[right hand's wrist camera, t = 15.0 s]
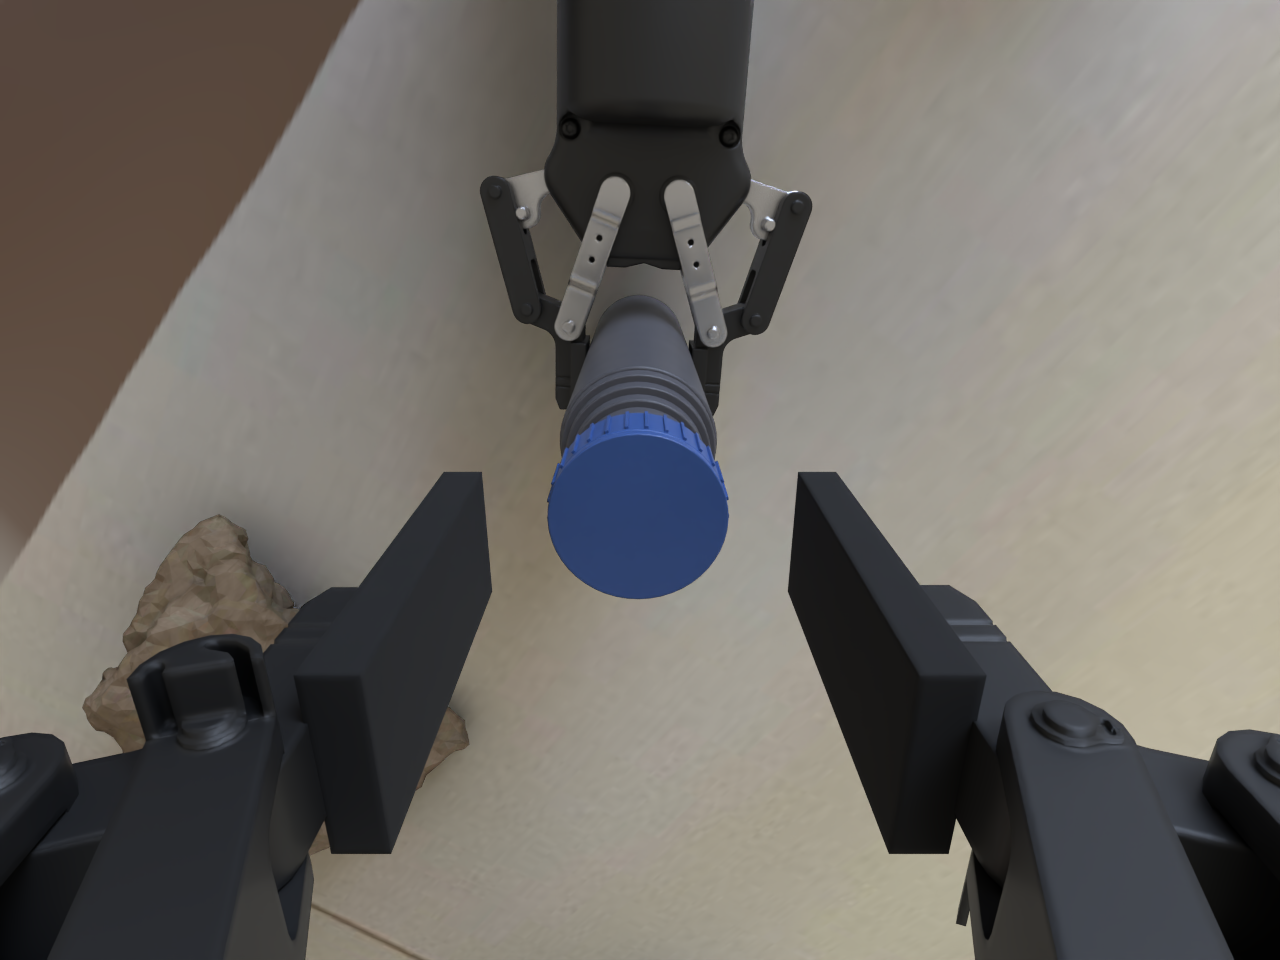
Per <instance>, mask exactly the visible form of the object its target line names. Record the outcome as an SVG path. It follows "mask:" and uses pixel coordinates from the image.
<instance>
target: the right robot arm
mask: <svg viewBox="0 0 1280 960" xmlns="http://www.w3.org/2000/svg"><path fill="white" fill-rule="evenodd" d="M491 593H492V584H491V573H490V561H489V550H488V538H487V527H486V515H485V504H484V492H483V481H482V472H444V473H443V474H442V475H441V477H440V478H439V479H438V481H437V482H436V483H435V485H434V486H433V487H432V489H431V490H430V491H429V493H428V494H427V496H426V497H425V498H424V500H423V501H422V502H421V504H420V505H419V506H418V508H417V509H416V510H415V512H414V513H413V514H412V516H411V517H410V518H409V520H408V521H407V523H406V524H405V525H404V527H403V528H402V529H401V531H400V532H399V533H398V535H397V536H396V537H395V539H394V540H393V541H392V543H391V544H390V545H389V547H388V548H387V550H386V551H385V552H384V554H383V555H382V556H381V558H380V559H379V560H378V562H377V563H376V564H375V566H374V567H373V568H372V570H371V571H370V572H369V574H368V575H367V577H366V578H365V579H364V581H363V582H362V583H361V585H360V586H359V587H331V588H330V589H328V590H326V591H325V592H323V593H322V594H320V595H318V596H317V597H315V598H314V599H312V600H310V601H309V602H307V603H306V604H304V605H303V606H302V608H301V609H300V610H299V611H298V612H297V614H296V615H295V616H294V617H293V618H292V619H291V621H290V622H289V623H288V628H284V629H283V630H282V631H281V632H280V634H279V635H278V636H277V637H276V638H275V640H274V644H270V645H269V647H268V648H267V649H266V650H265V651H264V653H263V651H262V646H261V644H259V643H258V642H257V641H255V640H254V639H253V638H251V637H248V636H242V635H237V634H222V635H209V636H205V637H201V638H197V639H192V640H188V641H184V642H182V643H179V644H177V645H175V646H172V647H170V648H167V649H165V650H163V651H160V652H158V653H157V654H155V655H154V656H152V657H151V658H149V659H148V660H146V661H145V662H143V663H141V664H140V665H139V666H138V667H137V668H136V669H135V670H134V671H133V673H132V674H131V675H130V676H129V677H128V678H127V679H126V680H127V683H128V686H129V689H130V692H131V696H132V699H133V702H134V705H135V708H136V711H137V714H138V718H139V721H140V724H141V727H142V730H143V733H144V737H145V740H146V742H145V744H144V746H143V748H142V749H139V750H135V751H131V752H127V753H122V754H117V755H112V756H108V757H103V758H98V759H93V760H89V761H84V762H79V763H74V764H72V763H71V760H70V757H69V755H68V752H67V749H66V747H65V744H64V742H63V741H61V740H60V739H58V738H57V737H55V736H54V735H52V734H42V733H27V734H20V735H14V736H8V737H3V738H0V960H305V956H306V947H307V938H308V929H309V919H310V910H311V901H312V892H313V883H314V877H313V871H312V865H311V860H310V856H309V852H308V851H309V849H310V847H311V845H312V844H313V842H314V840H315V838H316V836H317V834H318V832H319V830H320V828H321V826H322V824H323V822H324V821H325V826H326V831H327V835H328V840H329V845H330V850H331V854H391V852H392V850H393V847H394V845H395V842H396V839H397V837H398V834H399V832H400V829H401V827H402V824H403V821H404V819H405V816H406V814H407V811H408V808H409V806H410V803H411V801H412V798H413V795H414V793H415V790H416V788H417V785H418V782H419V780H420V777H421V775H422V772H423V769H424V767H425V764H426V762H427V759H428V756H429V754H430V751H431V749H432V746H433V743H434V741H435V738H436V736H437V733H438V730H439V728H440V725H441V723H442V720H443V717H444V715H445V712H446V710H447V707H448V705H449V702H450V699H451V697H452V694H453V692H454V689H455V686H456V684H457V681H458V679H459V676H460V673H461V671H462V668H463V666H464V663H465V660H466V658H467V655H468V653H469V650H470V647H471V645H472V642H473V640H474V637H475V634H476V632H477V629H478V627H479V624H480V621H481V619H482V616H483V614H484V611H485V608H486V606H487V603H488V601H489V598H490V595H491ZM788 593H789V595H790V598H791V601H792V603H793V606H794V608H795V611H796V614H797V616H798V619H799V621H800V624H801V627H802V629H803V632H804V634H805V637H806V640H807V642H808V645H809V647H810V650H811V653H812V655H813V658H814V660H815V663H816V666H817V668H818V671H819V673H820V676H821V679H822V681H823V684H824V686H825V689H826V692H827V694H828V697H829V699H830V702H831V705H832V707H833V710H834V712H835V715H836V717H837V720H838V723H839V725H840V728H841V730H842V733H843V736H844V738H845V741H846V743H847V746H848V749H849V751H850V754H851V756H852V759H853V762H854V764H855V767H856V769H857V772H858V775H859V777H860V780H861V782H862V785H863V788H864V790H865V793H866V795H867V798H868V801H869V803H870V806H871V808H872V811H873V814H874V816H875V819H876V821H877V824H878V827H879V829H880V832H881V834H882V837H883V840H884V842H885V845H886V847H887V850H888V852H889V854H949V850H950V845H951V840H952V835H953V831H954V826H955V821H956V819H957V821H958V823H959V824H960V826H961V828H962V830H963V832H964V834H965V836H966V838H967V840H968V842H969V844H970V846H971V848H972V852H971V856H970V860H969V865H968V869H967V873H966V878H965V882H964V886H963V891H962V895H961V900H960V904H959V908H958V915H957V921H956V924H959V925H963V926H966V923H967V919H968V915H969V911H970V917H971V927H972V936H973V945H974V954H975V960H1280V735H1279V734H1274V733H1268V732H1262V731H1255V730H1238V731H1228V732H1227V733H1226V734H1224V735H1223V736H1221V737H1220V738H1218V739H1217V741H1216V744H1215V747H1214V749H1213V752H1212V755H1211V757H1210V760H1209V761H1206V760H1202V759H1197V758H1192V757H1187V756H1183V755H1178V754H1173V753H1168V752H1163V751H1159V750H1154V749H1149V748H1145V747H1142V746H1138V745H1136V743H1135V740H1134V739H1133V738H1132V736H1131V735H1130V734H1129V732H1128V731H1127V730H1126V728H1125V727H1124V725H1123V724H1121V723H1120V722H1119V721H1118V720H1116V719H1115V718H1114V717H1112V716H1111V715H1110V714H1108V713H1107V712H1106V711H1104V710H1102V709H1100V708H1098V707H1096V706H1094V705H1092V704H1090V703H1088V702H1086V701H1084V700H1082V699H1079V698H1076V697H1072V696H1068V695H1065V694H1061V693H1058V692H1052V690H1051V689H1050V688H1049V687H1048V686H1047V685H1046V683H1045V682H1044V681H1043V680H1042V679H1041V678H1040V676H1039V675H1038V674H1037V673H1036V672H1035V671H1034V669H1033V668H1032V667H1031V666H1030V665H1029V663H1028V662H1027V661H1026V660H1025V659H1024V658H1023V656H1022V655H1021V654H1020V653H1019V652H1018V651H1017V649H1016V648H1015V647H1014V646H1013V645H1012V644H1011V642H1007V641H1006V636H1005V635H1004V634H1003V633H1002V632H1001V631H1000V629H999V628H998V627H997V626H996V625H993V623H992V622H993V621H992V620H991V619H990V618H989V617H988V615H987V614H986V613H985V612H984V611H983V609H982V608H981V607H980V606H979V605H978V604H977V602H975V601H974V600H972V599H971V598H969V597H967V596H966V595H964V594H963V593H961V592H959V591H958V590H956V589H954V588H953V587H951V586H950V585H919V583H918V582H917V581H916V579H915V578H914V577H913V575H912V574H911V572H910V571H909V570H908V568H907V567H906V566H905V564H904V563H903V562H902V560H901V559H900V558H899V556H898V555H897V554H896V552H895V551H894V550H893V548H892V547H891V545H890V544H889V543H888V541H887V540H886V539H885V537H884V536H883V535H882V533H881V532H880V531H879V529H878V528H877V527H876V525H875V524H874V523H873V521H872V520H871V518H870V517H869V516H868V514H867V513H866V512H865V510H864V509H863V508H862V506H861V505H860V504H859V502H858V501H857V500H856V498H855V497H854V496H853V494H852V493H851V491H850V490H849V489H848V487H847V486H846V485H845V483H844V482H843V481H842V479H841V478H840V477H839V475H838V474H837V473H836V472H798V480H797V492H796V504H795V515H794V527H793V538H792V550H791V561H790V573H789V584H788Z"/></svg>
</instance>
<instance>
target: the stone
mask: <svg viewBox="0 0 1280 960" xmlns="http://www.w3.org/2000/svg"><path fill="white" fill-rule="evenodd" d="M247 541H248V536H247V533H246V530H245V529H243V528H241V527H239V526H237V525H235V524H233V523H232V522H231V521H229V520H228V519H227V518H226V517H224V516H222V515H220V514H218V515H216V516H214V517H211V518H209V519H206V520H204V521H201V522H199V523H198V524H197V525H196V526H195V527H194V528H193V529H192V530H191V531H189V532H187V533H186V534H184V535H183V536H182V537H181V539H180V540H179V541H178V542H177V544H176V545H175V546H174V548H173V549H172V550H171V552H170V553H169V554H168V556H167V557H166V558H165V560H164V561H163V562H162V564H161V565H160V567H159V569H158V571H157V573H156V576H155V579H154V580H153V582H152V583H150V584H149V585H148V586H147V587H146V588H145V591H144V595H143V596H142V598H141V599H140V601H139V605H138V610H137V614H136V616H135V617H134V619H133V620H132V622H131V625H130V626H129V628H128V629H127V630H126V631H125V632H124V634H123V643H124V645H125V648H126V650H127V652H128V653H127V654H126V656H125V657H124V659H123V660H122V662H121V663H120V665H119V666H118V667H116V668H108V669H106V670H105V671H104V673H103V677H102V681H101V682H100V684H99V685H98V687H97V688H96V689H95V691H94V692H93V693H92V694H91V695H90V696H89V697H87V698H86V699H85V702H84V705H83V707H82V708H83V710H84V711H85V713H86V716H87V719H88V721H89V722H90V724H91V726H92V727H93V728H94V729H95V730H96V731H103V732H106V733H107V734H109V735H111V736H112V737H114V739H115V740H116V741H117V743H118V744H119V746H120V747H121V748H122V750H123V753H127V752H131V751H135V750H139V749H142V748H143V746H144V744H145V742H146V740H145V737H144V733H143V730H142V727H141V724H140V721H139V718H138V714H137V711H136V708H135V705H134V702H133V699H132V696H131V692H130V689H129V686H128V683H127V680H126V679H127V678H128V677H129V676H130V675H131V674H132V673H133V671H134V670H135V669H136V668H137V667H138V666H139V665H140V664H141V663H143V662H145V661H146V660H148V659H149V658H151V657H152V656H154V655H155V654H157V653H158V652H160V651H163V650H165V649H167V648H170V647H172V646H175V645H177V644H179V643H182V642H184V641H188V640H192V639H197V638H201V637H205V636H209V635H222V634H237V635H242V636H248V637H251V638H253V639H254V640H255V641H257V642H258V643H259V644H261V646H262V651H263V653H264V651H265V650H266V649H267V648H268V647H269V645H270V644H274V640H275V638H276V637H277V636H278V635H279V634H280V632H281V631H282V630H283V629H284V628H288V623H289V622H290V621H291V619H292V618H293V617H294V616H295V615H296V614H297V612H298V611H299V610H300V609H296V608H293V606H294V603H293V601H292V599H291V598H290V596H289V594H288V592H287V591H286V589H285V588H284V587H282V586H281V585H280V584H277V583H274V578H273V577H272V575H271V574H270V572H269V571H268V569H267V568H266V566H265V565H260V564H258V563H256V562H254V561H252V559H251V557H250V552H249V548H248V544H247ZM468 745H469V739H468V734H467V731H466V728H465V720H464V719H462V718H461V717H459V716H458V715H457V714H456V713H455V712H454V711H452V710H451V708H449V707H447V710H446V712H445V715H444V717H443V720H442V723H441V725H440V728H439V730H438V733H437V736H436V738H435V741H434V743H433V746H432V749H431V751H430V754H429V756H428V759H427V762H426V764H425V767H424V769H423V772H422V775H421V777H420V780H419V782H418V785H417V788H416V790H417V789H419V788H420V787H422V784H423V782H424V779H425V777H426V775H427V774H428V773H429V772H431V771H432V770H433V769H434V768H435V767H436V766H438V765H439V764H440V763H441V762H442V761H443V760H444V759H445V758H446V757H447V756H449V755H450V754H451V753H452V752H454V751H457V750H462V749H464V748H466V747H467V746H468ZM329 847H330V845H329V840H328V835H327V831H326V826H325V821H324V822H323V824H322V826H321V828H320V830H319V832H318V834H317V836H316V838H315V840H314V842H313V844H312V845H311V847H310V849H309V851H308V852H309V855H312V854H314V853H316V852H319V851H321V850H324V849H326V848H329Z"/></svg>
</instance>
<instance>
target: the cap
mask: <svg viewBox="0 0 1280 960" xmlns="http://www.w3.org/2000/svg"><path fill="white" fill-rule="evenodd" d="M551 484H552V487H551V490H550V493H549V496H548V499H547V502H549V505H548V517H547V519H548V527H549V533H550V537H551V540H552V543H553V545H554V548H555V550H556V552H557V554H558V555H559V557H560V559H561V560H562V562H563V563H564V564H565V565H566V567H567V568H568V569H569V570H570V571H571V572H572V573H573V574H574V575H575V576H576V577H577V578H579V579H580V580H581V581H583V582H584V583H585V584H587V585H589V586H591V587H592V588H594V589H596V590H598V591H601V592H603V593H605V594H609V595H612V596H616V597H621V598H628V599H648V598H655V597H660V596H664V595H667V594H670V593H673V592H675V591H678V590H680V589H682V588H684V587H686V586H687V585H689V584H691V583H692V582H693V581H695V580H696V579H697V578H699V577H700V576H701V575H702V574H703V573H704V572H705V571H706V570H707V569H708V568H709V567H710V565H711V564H712V563H713V562H714V560H715V559H716V557H717V555H718V554H719V552H720V550H721V548H722V545H723V543H724V540H725V537H726V533H727V527H728V518H729V513H728V505H727V500H729V499H728V495H727V491H726V488H725V485H724V480H723V477H722V473H721V470H720V467H719V464H718V461H716V462H715V461H714V459H713V455H712V452H711V449H710V447H709V446H707V447H706V445H705V444H704V443H703V442H702V441H701V440H700V438H699V434H698V433H697V432H696V433H695V434H694V433H693V432H692V431H691V430H689V429H688V428H686V427H685V426H684V423H683V422H680V423H678V422H676V421H674V420H672V419H669V418H667V415H663V416H660V415H655V414H649V413H648V411H645V412H644V413H629V411H626V412H625V414H622V415H616V416H613V417H611V416H610V415H609V416H607V419H604V420H602V421H600V422H598V423H596V424H594V423H592V424H590V427H589V428H588V429H587V430H585V431H584V432H583V433H582V434H581V435H579V434H577V435H576V437H575V440H574V442H573V443H572V444H571V446H570V447H569V449H568V448H565V450H564V453H563V457H562V460H561V463H560V464H559V463H558V464H557V467H556V470H555V473H554V476H553V480H552V483H551Z"/></svg>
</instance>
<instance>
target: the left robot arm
mask: <svg viewBox="0 0 1280 960" xmlns="http://www.w3.org/2000/svg"><path fill="white" fill-rule="evenodd" d="M753 5H754V0H557V134H556V139H555V143H554V146H553V149H552V151H551V153H550V155H549V157H548V159H547V161H546V163H545V168H544V169H543V170H539V171H535V172H530V173H526V174H522V175H518V176H514V177H510V178H502V177H498V176H490V177H487V178H486V179H485V180H484V181H483V182H482V184H481V187H480V194H481V198H482V202H483V205H484V209H485V213H486V216H487V220H488V224H489V227H490V231H491V234H492V238H493V242H494V245H495V249H496V252H497V256H498V260H499V263H500V267H501V270H502V274H503V278H504V281H505V285H506V288H507V292H508V296H509V299H510V303H511V307H512V310H513V313H514V316H515V317H516V319H517V320H518V321H520V322H522V323H525V324H532V325H535V326H537V327H540V328H542V329H544V330H546V331H548V332H549V333H550V334H551V335H552V336H553V338H554V340H555V344H556V400H557V403H558V405H559V408H560V409H567V407H568V404H569V401H570V399H571V396H572V393H573V391H574V388H575V385H576V382H577V380H578V377H579V374H580V372H581V369H582V366H583V364H584V361H585V358H586V355H587V353H588V350H589V347H590V335H585V328H586V321H587V319H588V316H589V313H590V310H591V308H592V305H593V302H594V299H595V296H596V294H597V291H598V288H599V286H600V283H601V280H602V278H603V275H604V272H605V269H606V267H629V266H633V265H638V264H642V263H645V264H648V265H652V266H655V267H658V268H661V269H670V270H680V272H681V276H682V280H683V284H684V287H685V291H686V294H687V298H688V301H689V305H690V309H691V313H692V317H693V320H694V324H695V331H694V340H689V352H690V355H691V358H692V360H693V363H694V366H695V369H696V371H697V374H698V377H699V380H700V383H701V385H702V388H703V391H704V394H705V397H706V399H707V402H708V405H709V408H710V410H711V413H712V416H713V415H714V413H715V411H716V409H717V407H718V403H719V391H720V379H721V368H722V356H723V351H724V348H725V346H726V345H727V344H728V343H729V342H730V341H731V340H733V339H736V338H739V337H742V336H745V335H748V334H752V335H758V334H761V333H763V332H764V331H765V330H766V329H767V328H768V326H769V323H770V321H771V318H772V315H773V313H774V310H775V307H776V305H777V302H778V299H779V297H780V294H781V291H782V289H783V286H784V283H785V281H786V278H787V275H788V273H789V270H790V267H791V265H792V262H793V259H794V257H795V254H796V251H797V248H798V246H799V243H800V240H801V238H802V235H803V232H804V230H805V227H806V224H807V222H808V219H809V216H810V214H811V211H812V201H811V199H810V197H809V196H808V195H807V194H806V193H804V192H798V191H792V192H786V191H783V190H780V189H778V188H775V187H772V186H769V185H766V184H763V183H760V182H757V181H755V180H752V179H751V175H750V171H749V168H748V166H747V163H746V161H745V158H744V154H743V149H742V132H743V120H744V109H745V97H746V86H747V74H748V63H749V51H750V40H751V28H752V17H753ZM548 194H551V195H552V197H553V199H554V200H555V202H556V203H557V205H558V206H559V208H560V209H561V211H562V212H563V214H564V215H565V217H566V218H567V220H568V222H569V223H570V225H571V226H572V228H573V229H574V231H575V232H576V234H577V235H578V237H579V238H580V240H581V242H582V244H581V247H580V250H579V252H578V255H577V258H576V261H575V264H574V267H573V270H572V273H571V276H570V279H569V283H568V286H567V289H566V292H565V295H564V298H563V301H562V302H561V301H559V300H557V299H554V298H552V297H549V296H547V295H546V293H545V289H544V286H543V282H542V278H541V274H540V270H539V266H538V262H537V258H536V255H535V251H534V247H533V243H532V239H531V235H530V231H529V228H532V227H534V226H536V225H537V224H538V222H539V221H540V218H541V209H540V207H541V202H542V200H543V199H544V197H545V196H547V195H548ZM742 203H744V204H745V205H746V206H747V207H748V208H749V210H750V213H751V221H750V230H751V232H752V234H753V235H754V236H755V237H756V238H758V239H760V242H759V245H758V247H757V250H756V253H755V256H754V259H753V261H752V264H751V267H750V270H749V273H748V275H747V278H746V281H745V284H744V287H743V290H742V292H741V295H740V298H739V301H738V304H735V305H732V306H729V307H726V308H723V309H722V308H721V304H720V300H719V296H718V291H717V284H716V280H715V276H714V272H713V268H712V264H711V260H710V256H709V251H708V246H709V245H710V244H711V243H712V241H713V240H714V239H715V238H716V236H717V235H718V234H719V233H720V231H721V230H722V229H723V227H724V226H725V225H726V224H727V222H728V221H729V220H730V219H731V217H732V216H733V215H734V213H735V212H736V211H737V210H738V208H739V207H740V206H741V205H742Z"/></svg>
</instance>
